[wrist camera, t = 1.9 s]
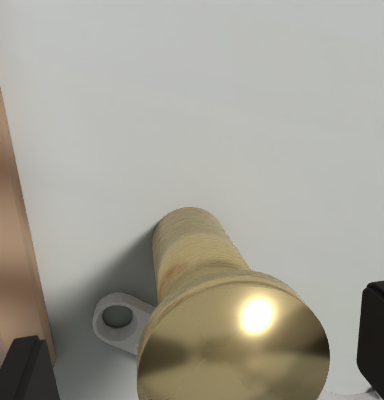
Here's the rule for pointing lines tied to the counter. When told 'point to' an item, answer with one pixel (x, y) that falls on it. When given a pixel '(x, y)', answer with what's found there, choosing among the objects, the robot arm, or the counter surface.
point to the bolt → (224, 323)
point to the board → (17, 257)
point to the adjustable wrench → (131, 333)
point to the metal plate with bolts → (2, 352)
